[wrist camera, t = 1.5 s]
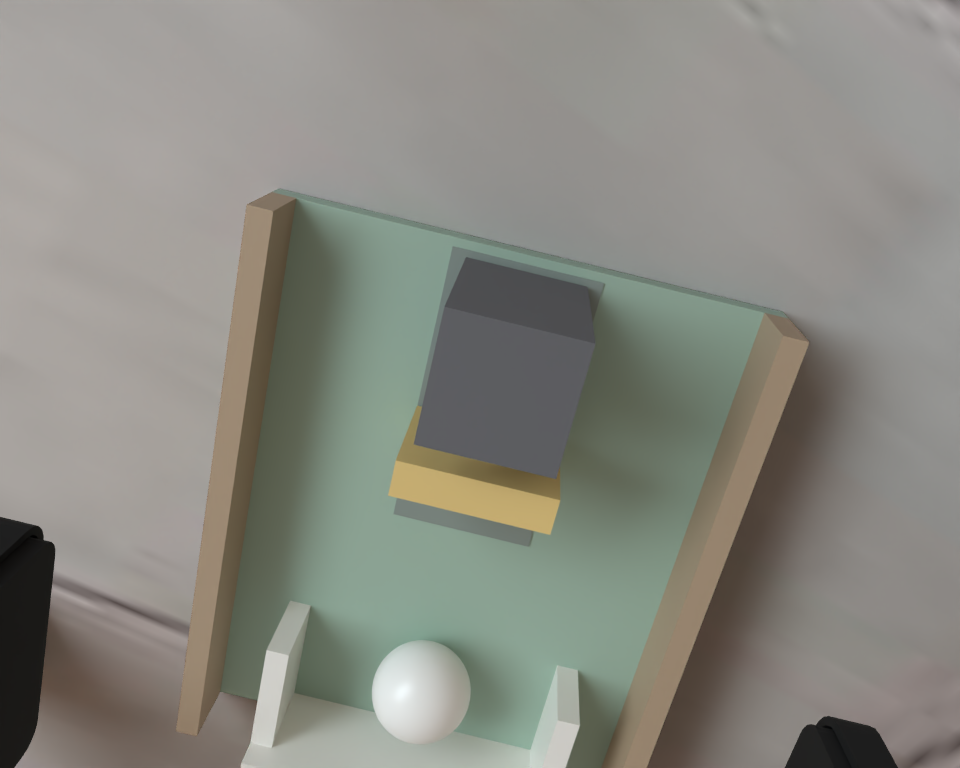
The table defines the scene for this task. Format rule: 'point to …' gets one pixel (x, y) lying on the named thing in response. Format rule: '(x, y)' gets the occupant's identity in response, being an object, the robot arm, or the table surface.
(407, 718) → the ball
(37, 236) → the table surface
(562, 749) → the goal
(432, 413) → the grey cube yellow base
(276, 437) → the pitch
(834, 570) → the table surface
